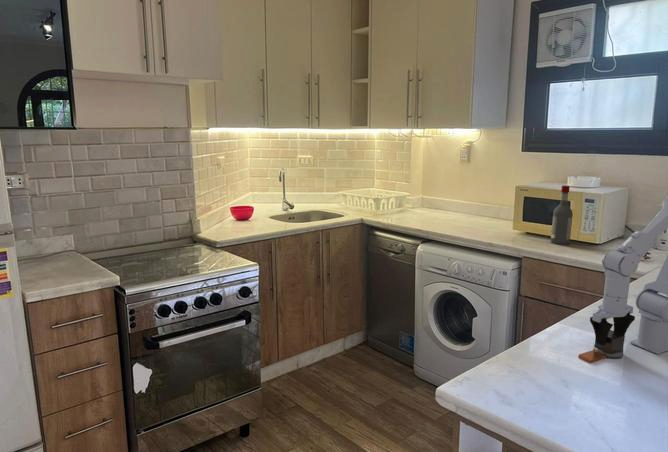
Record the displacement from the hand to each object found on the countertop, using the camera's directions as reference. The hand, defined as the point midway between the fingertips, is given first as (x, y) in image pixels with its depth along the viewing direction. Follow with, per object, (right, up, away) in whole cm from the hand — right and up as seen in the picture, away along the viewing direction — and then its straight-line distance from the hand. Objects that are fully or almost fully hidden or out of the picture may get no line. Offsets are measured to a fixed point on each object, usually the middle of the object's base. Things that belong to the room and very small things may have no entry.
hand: (609, 341), depth 136 cm
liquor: (+43, +23, +123) cm, 133 cm away
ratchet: (-3, -4, -1) cm, 5 cm away
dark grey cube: (0, -2, 0) cm, 2 cm away
